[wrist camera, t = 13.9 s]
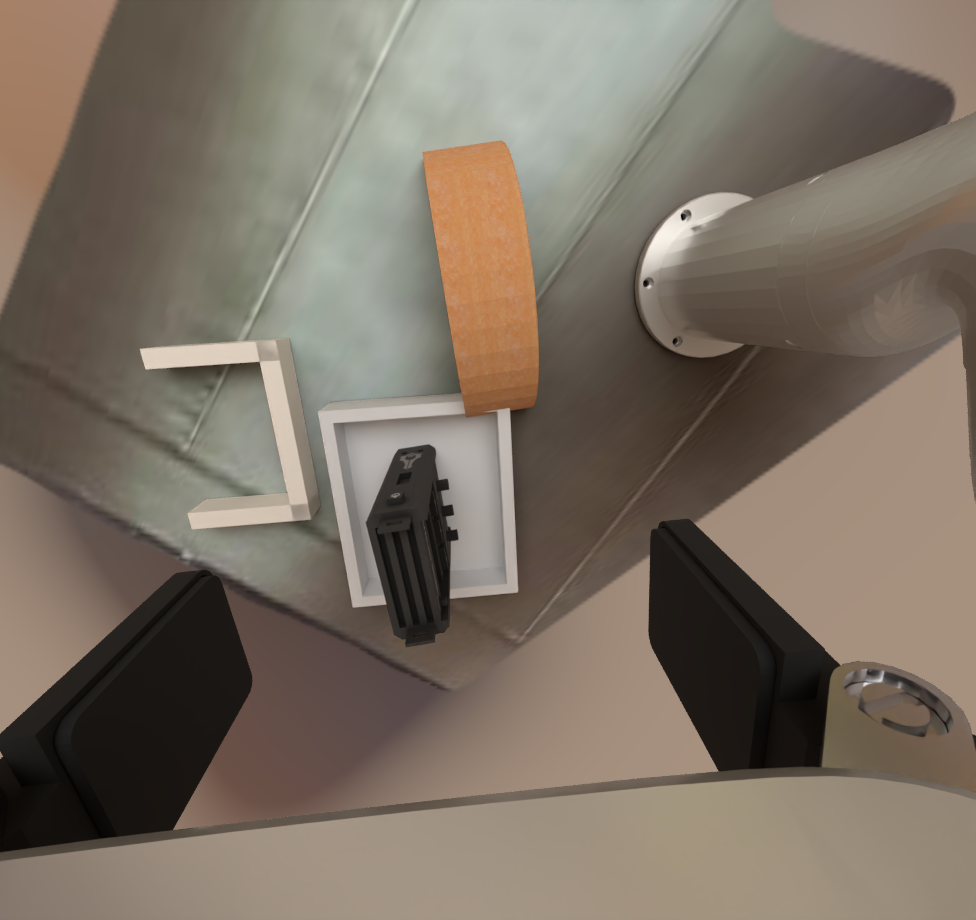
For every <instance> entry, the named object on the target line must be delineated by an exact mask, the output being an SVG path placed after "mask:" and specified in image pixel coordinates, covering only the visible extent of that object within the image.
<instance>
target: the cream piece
mask: <svg viewBox="0 0 976 920" xmlns="http://www.w3.org/2000/svg"><path fill="white" fill-rule="evenodd" d="M140 351H141V355H142V358H143V362H144V365H145V369H157V368H172V367H187V366H202V365H217V364H232V363H247V362H260V366H261V370H262V375H263V380H264V384H265V389H266V394H267V398H268V403H269V408H270V413H271V417H272V422H273V427H274V431H275V436H276V441H277V446H278V450H279V455H280V460H281V464H282V469H283V474H284V479H285V483H286V488H287V493H279V494H267V495H254V496H242V497H229V498H217V499H206V500H204V501H203V502H202V503H200V504H199V505H198V506H196V507H195V508H194V509H193V510H191V511H190V512H189V513H188V517H189V520H190V524H191V527H192V529H202V528H214V527H227V526H239V525H251V524H263V523H275V522H287V521H299V520H311V519H312V518H313V516H314V515H315V513H316V512H317V510H318V509H319V507H320V506H321V503H320V498H319V493H318V488H317V482H316V477H315V472H314V467H313V461H312V456H311V451H310V445H309V440H308V435H307V430H306V424H305V419H304V414H303V408H302V403H301V398H300V393H299V387H298V382H297V377H296V372H295V366H294V361H293V356H292V350H291V345H290V340H289V338H282V339H267V340H251V341H236V342H220V343H205V344H189V345H174V346H161V347H153V348H144V349H140Z"/></svg>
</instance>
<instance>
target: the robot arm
mask: <svg viewBox="0 0 976 920" xmlns="http://www.w3.org/2000/svg"><path fill="white" fill-rule="evenodd" d="M681 215H683V220H681ZM644 280H645V281H646V282H647V285H646V286H645V287H644V286H643V282H644ZM635 298H636V305H637V308H638V312H639V315H640V318H641V320H642V322H643V324H644V326H645V328H646V329H647V331H648V332H649V333H650V334H651V336H652V337H653V338H654V339H655V340H656V341H657V342H658V343H660V344H661V345H662V346H663V347H665V348H667V349H669V350H671V351H673V352H675V353H677V354H681V355H685V356H690V357H698V358H705V357H715V356H719V355H723V354H727V353H729V352H731V351H733V350H736V349H738V348H740V347H742V346H743V345H744V344H749V345H757V346H766V347H775V348H783V349H792V350H801V351H809V352H818V353H827V354H837V355H846V356H858V357H874V356H884V355H891V354H896V353H900V352H904V351H907V350H911V349H914V348H917V347H920V346H923V345H926V344H928V343H930V342H933V341H935V340H937V339H939V338H941V337H943V336H945V335H947V334H949V333H951V332H953V331H955V330H956V329H958V328H960V329H961V336H962V346H963V364H964V367H965V369H966V381H967V401H968V402H967V404H968V427H969V449H970V459H971V476H972V484H973V491H974V498H975V502H976V112H974V113H972V114H970V115H967V116H965V117H963V118H961V119H958V120H956V121H953V122H951V123H949V124H946V125H944V126H941V127H939V128H937V129H934V130H932V131H929V132H927V133H925V134H922V135H920V136H917V137H915V138H913V139H910V140H908V141H905V142H903V143H901V144H898V145H896V146H893V147H890V148H888V149H885V150H883V151H880V152H877V153H875V154H872V155H870V156H867V157H864V158H862V159H859V160H856V161H854V162H851V163H848V164H846V165H843V166H840V167H838V168H835V169H832V170H830V171H827V172H824V173H822V174H819V175H816V176H814V177H811V178H808V179H806V180H803V181H800V182H798V183H795V184H792V185H790V186H787V187H784V188H782V189H779V190H776V191H774V192H771V193H768V194H766V195H763V196H760V197H758V198H755V199H753V198H751V197H749V196H746V195H742V194H739V193H732V192H718V193H712V194H706V195H704V196H701V197H698V198H696V199H693V200H691V201H689V202H687V203H685V204H683V205H681V206H679V207H678V208H677V209H676V210H674V211H673V212H672V213H670V214H669V215H668V216H666V218H665V219H664V220H663V221H662V222H661V223H660V224H659V225H658V226H657V227H656V228H655V230H654V231H653V233H652V234H651V236H650V237H649V239H648V241H647V242H646V244H645V247H644V249H643V251H642V253H641V256H640V258H639V262H638V266H637V270H636V277H635ZM674 338H675V343H674V344H673V342H672V341H673V339H674ZM649 586H650V587H649V588H650V589H649V639H650V643H651V646H652V649H653V651H654V653H655V654H656V656H657V658H658V660H659V662H660V664H661V665H662V667H663V669H664V671H665V673H666V675H667V676H668V678H669V680H670V682H671V684H672V686H673V688H674V689H675V691H676V693H677V695H678V697H679V698H680V701H681V702H682V704H683V706H684V708H685V710H686V712H687V713H688V715H689V717H690V719H691V721H692V723H693V725H694V726H695V728H696V730H697V732H698V733H699V736H700V737H701V739H702V741H703V743H704V745H705V747H706V749H707V750H708V752H709V754H710V756H711V758H712V760H713V761H714V763H715V765H716V767H717V769H718V771H719V772H708V773H696V774H685V775H675V776H662V777H651V778H640V779H630V780H621V781H611V782H601V783H592V784H582V785H573V786H563V787H555V788H544V789H535V790H525V791H516V792H506V793H497V794H487V795H478V796H470V797H461V798H451V799H442V800H433V801H424V802H415V803H406V804H397V805H389V806H379V807H370V808H362V809H352V810H343V811H335V812H325V813H317V814H309V815H299V816H290V817H282V818H272V819H264V820H256V821H248V822H239V823H230V824H221V825H213V826H205V827H196V828H188V829H179V830H173V829H174V827H175V825H176V823H177V821H178V820H179V818H180V816H181V814H182V813H183V811H184V809H185V807H186V805H187V804H188V802H189V800H190V798H191V796H192V795H193V793H194V791H195V789H196V788H197V786H198V784H199V782H200V780H201V779H202V777H203V775H204V773H205V772H206V770H207V768H208V766H209V764H210V763H211V761H212V759H213V757H214V755H215V754H216V752H217V750H218V748H219V746H220V745H221V743H222V741H223V739H224V738H225V736H226V734H227V732H228V730H229V729H230V727H231V725H232V723H233V722H234V720H235V718H236V716H237V715H238V713H239V711H240V709H241V707H242V706H243V704H244V702H245V700H246V698H247V697H248V695H249V693H250V691H251V687H252V674H251V671H250V668H249V665H248V662H247V658H246V655H245V653H244V649H243V646H242V644H241V640H240V637H239V634H238V631H237V628H236V625H235V622H234V619H233V616H232V613H231V610H230V607H229V604H228V601H227V597H226V594H225V591H224V588H223V585H222V582H221V580H220V578H219V577H218V576H213V574H212V573H211V572H210V571H208V570H199V571H189V572H180V573H176V574H174V575H173V576H172V577H171V578H170V579H169V580H167V581H166V582H165V583H164V584H163V585H162V586H161V587H160V588H159V589H158V590H156V591H155V592H154V593H153V594H152V595H151V596H150V597H149V598H148V599H147V600H146V601H145V602H143V603H142V604H141V605H140V606H139V607H138V608H137V609H136V610H135V611H134V612H132V613H131V614H130V615H129V616H128V617H127V618H126V619H125V620H124V621H123V622H122V623H120V624H119V626H117V627H116V628H115V629H114V630H113V631H112V632H111V633H110V634H108V635H107V636H106V637H105V638H104V639H103V640H102V641H101V642H100V643H99V644H98V645H96V647H94V648H93V649H92V650H91V651H90V652H89V653H88V654H87V655H86V656H85V657H83V658H82V659H81V660H80V661H79V662H78V663H77V664H76V665H75V666H74V667H72V668H71V669H70V670H69V671H68V672H67V673H66V674H65V675H64V676H63V677H62V678H61V679H60V680H58V681H57V682H56V683H55V684H54V685H53V686H52V687H51V688H50V689H49V690H47V691H46V692H45V693H44V694H43V695H42V696H41V697H40V698H39V699H38V700H37V701H35V702H34V703H33V704H32V705H31V706H30V707H29V708H28V709H27V710H26V711H25V712H23V713H22V714H21V715H20V716H19V717H18V718H17V719H16V720H15V721H14V722H13V723H11V724H10V725H9V726H8V727H7V728H6V729H5V730H4V731H3V732H2V733H1V734H0V752H1V753H2V755H3V757H2V758H1V759H0V920H976V736H975V735H973V734H972V732H971V727H970V724H969V722H968V720H967V718H966V716H965V714H964V712H963V710H962V709H961V708H960V707H959V706H958V705H957V704H956V703H955V702H954V701H953V700H952V698H950V697H949V696H948V695H946V694H945V693H944V692H942V691H941V690H940V689H938V688H937V687H936V686H934V685H933V684H931V683H929V682H927V681H925V680H923V679H921V678H920V677H918V676H916V675H914V674H912V673H909V672H906V671H904V670H901V669H898V668H895V667H893V666H888V665H884V664H879V663H875V662H860V661H856V662H851V663H845V664H842V665H840V664H839V663H838V662H836V661H835V660H834V659H833V658H832V657H831V656H830V655H829V654H828V653H827V652H826V651H825V649H824V648H823V647H822V646H821V645H820V644H819V643H818V642H817V641H816V640H815V639H814V638H813V637H812V636H811V635H810V634H809V633H808V632H807V631H806V630H804V629H803V628H802V627H801V626H800V625H799V624H798V623H797V622H796V621H795V620H794V619H793V618H792V617H791V616H790V615H789V614H788V613H787V612H786V611H785V610H784V609H783V608H782V607H780V606H779V605H778V604H777V603H776V602H775V601H774V600H773V599H772V598H771V597H770V596H769V595H768V594H767V593H766V592H765V591H764V590H763V589H761V587H760V586H759V585H757V584H756V583H755V582H754V581H753V580H752V579H751V578H750V577H749V576H748V575H747V574H746V573H745V572H744V571H743V570H742V569H741V568H740V567H739V566H738V565H737V564H736V563H735V562H733V561H732V560H731V559H730V558H729V557H728V556H727V555H726V554H725V553H724V552H723V551H722V550H721V549H720V548H719V547H718V546H717V545H716V544H715V543H714V542H713V541H712V540H711V539H710V538H709V537H707V536H706V535H705V534H704V533H703V532H702V531H701V530H700V529H699V528H698V527H697V526H696V525H695V524H694V523H693V522H692V521H691V520H689V519H681V520H671V521H662V522H660V523H659V526H658V529H653V530H652V531H651V539H650V585H649Z"/></svg>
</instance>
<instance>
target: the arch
mask: <svg viewBox="0 0 976 920" xmlns="http://www.w3.org/2000/svg"><path fill="white" fill-rule="evenodd" d="M423 161H424V168H425V175H426V181H427V188H428V194H429V201H430V207H431V214H432V220H433V226H434V232H435V239H436V245H437V251H438V257H439V263H440V269H441V275H442V281H443V288H444V294H445V300H446V306H447V312H448V318H449V323H450V329H451V335H452V341H453V347H454V353H455V359H456V365H457V370H458V376H459V382H460V387H461V393H462V398H463V404H464V409H465V414H466V418H467V417H473V416H479V415H486V414H492V413H496V412H497V411H494V412H486V411H493V410H499V409H505V408H510V411H511V410H517V409H524V408H530V407H533V406H534V404H535V402H536V397H537V391H538V377H539V344H538V323H537V310H536V297H535V287H534V277H533V268H532V260H531V252H530V245H529V237H528V231H527V225H526V219H525V213H524V207H523V202H522V197H521V192H520V187H519V183H518V179H517V175H516V171H515V167H514V163H513V160H512V157H511V154H510V152H509V149H508V148H507V146H506V144H505V143H504V142H503V141H496V142H489V143H482V144H475V145H468V146H461V147H455V148H448V149H441V150H434V151H427V152H423Z"/></svg>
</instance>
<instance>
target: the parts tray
mask: <svg viewBox="0 0 976 920" xmlns="http://www.w3.org/2000/svg"><path fill="white" fill-rule="evenodd" d="M494 411H497V412H496V413H492V414H486V415H479V416H473V417H467V418H466V414H465V409H464V404H463V398H462V393H451V394H437V395H423V396H408V397H394V398H380V399H366V400H352V401H338V402H330V403H329V404H328V405H326V406H325V407H324V408H322V409H321V410H320V411H318V415H319V421H320V426H321V432H322V437H323V443H324V449H325V454H326V460H327V465H328V471H329V476H330V482H331V488H332V493H333V499H334V504H335V510H336V516H337V521H338V527H339V532H340V538H341V543H342V549H343V555H344V560H345V566H346V571H347V577H348V583H349V588H350V594H351V599H352V605H353V607H364V606H375V605H386V601H385V597H384V593H383V589H382V585H381V581H380V577H379V573H378V569H377V565H376V562H375V558H374V554H373V550H372V546H371V542H370V538H369V534H368V530H367V526H366V521H367V518H368V516H369V514H370V511H371V509H372V507H373V504H374V502H375V500H376V497H377V495H378V492H379V490H380V488H381V485H382V483H383V481H384V478H385V476H386V474H387V471H388V469H389V466H390V464H391V462H392V459H393V457H394V455H395V453H396V452H397V450H398V449H402V448H408V447H415V446H421V445H427V444H430V445H431V446H433V447H434V448H435V449H436V459H435V463H436V468H437V473H438V478H439V480H442V479H448V482H449V490H444V491H441V494H442V499H443V504H444V506H445V505H451V504H452V505H453V509H454V515H453V516H447V517H446V520H447V525H448V527H450V528H451V530H455V529H457V531H458V537H459V540H456V541H451V565H450V599H452V598H463V597H474V596H485V595H495V594H506V593H517V592H518V577H517V555H516V533H515V511H514V489H513V467H512V445H511V423H510V408H505V409H499V410H493V411H486V412H494Z"/></svg>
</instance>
